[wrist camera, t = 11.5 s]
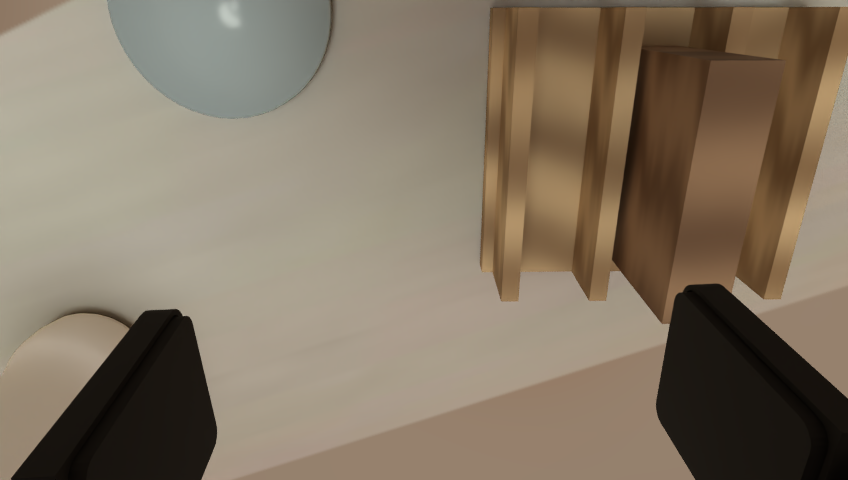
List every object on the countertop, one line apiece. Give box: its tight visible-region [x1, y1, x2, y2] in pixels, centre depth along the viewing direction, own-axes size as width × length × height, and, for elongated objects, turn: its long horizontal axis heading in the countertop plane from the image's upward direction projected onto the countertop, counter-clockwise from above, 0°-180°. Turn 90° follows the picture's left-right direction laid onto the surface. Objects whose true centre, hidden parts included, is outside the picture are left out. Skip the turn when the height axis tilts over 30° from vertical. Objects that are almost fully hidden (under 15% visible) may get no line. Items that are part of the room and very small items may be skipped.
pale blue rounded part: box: [107, 0, 332, 119], centre depth 31 cm, size 12×12×1 cm
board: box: [612, 46, 786, 324], centre depth 29 cm, size 12×3×10 cm, turn 0°
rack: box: [480, 7, 848, 301], centre depth 32 cm, size 16×18×5 cm
